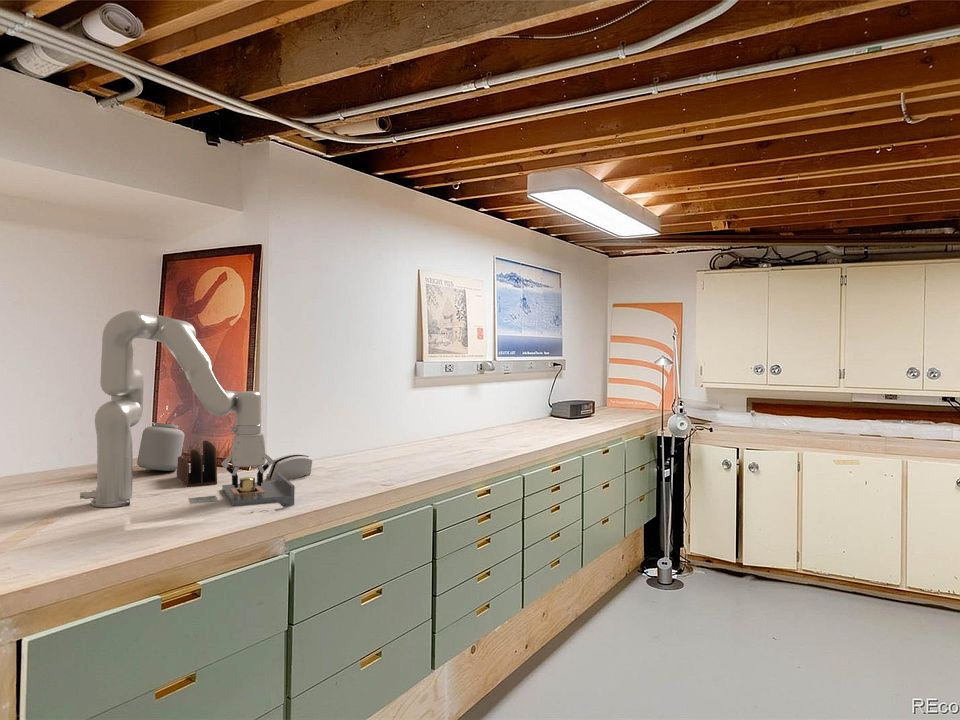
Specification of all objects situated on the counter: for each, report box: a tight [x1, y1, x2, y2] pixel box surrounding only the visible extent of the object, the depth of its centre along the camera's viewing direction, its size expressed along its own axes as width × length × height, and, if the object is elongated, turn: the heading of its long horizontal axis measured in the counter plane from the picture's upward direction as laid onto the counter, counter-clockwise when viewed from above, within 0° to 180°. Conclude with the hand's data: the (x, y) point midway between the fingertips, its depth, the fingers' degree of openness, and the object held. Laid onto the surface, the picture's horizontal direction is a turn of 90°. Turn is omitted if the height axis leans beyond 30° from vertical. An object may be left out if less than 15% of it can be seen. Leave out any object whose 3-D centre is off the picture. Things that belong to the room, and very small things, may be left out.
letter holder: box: [176, 439, 218, 488], centre depth 236 cm, size 10×20×14 cm, turn 34°
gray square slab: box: [188, 495, 220, 505], centre depth 202 cm, size 8×8×2 cm
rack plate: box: [221, 472, 296, 507], centre depth 210 cm, size 18×24×6 cm
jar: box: [136, 405, 185, 472], centre depth 252 cm, size 19×15×25 cm
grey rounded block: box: [265, 453, 313, 481], centre depth 245 cm, size 17×5×10 cm, turn 139°
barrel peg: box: [239, 476, 256, 493], centre depth 208 cm, size 4×4×7 cm
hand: (247, 485), depth 208 cm, fingers open, 6 cm apart
